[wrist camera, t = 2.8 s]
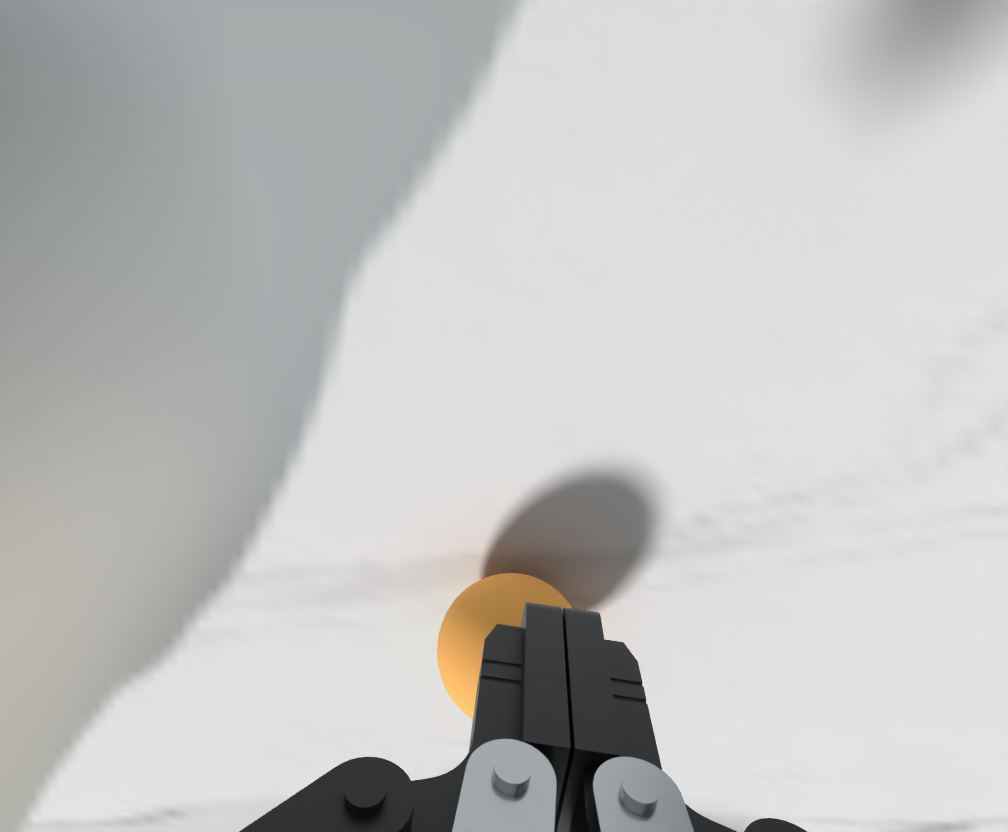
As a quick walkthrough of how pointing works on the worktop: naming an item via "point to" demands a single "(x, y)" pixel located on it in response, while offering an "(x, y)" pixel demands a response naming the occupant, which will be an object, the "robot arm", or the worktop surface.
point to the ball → (484, 627)
